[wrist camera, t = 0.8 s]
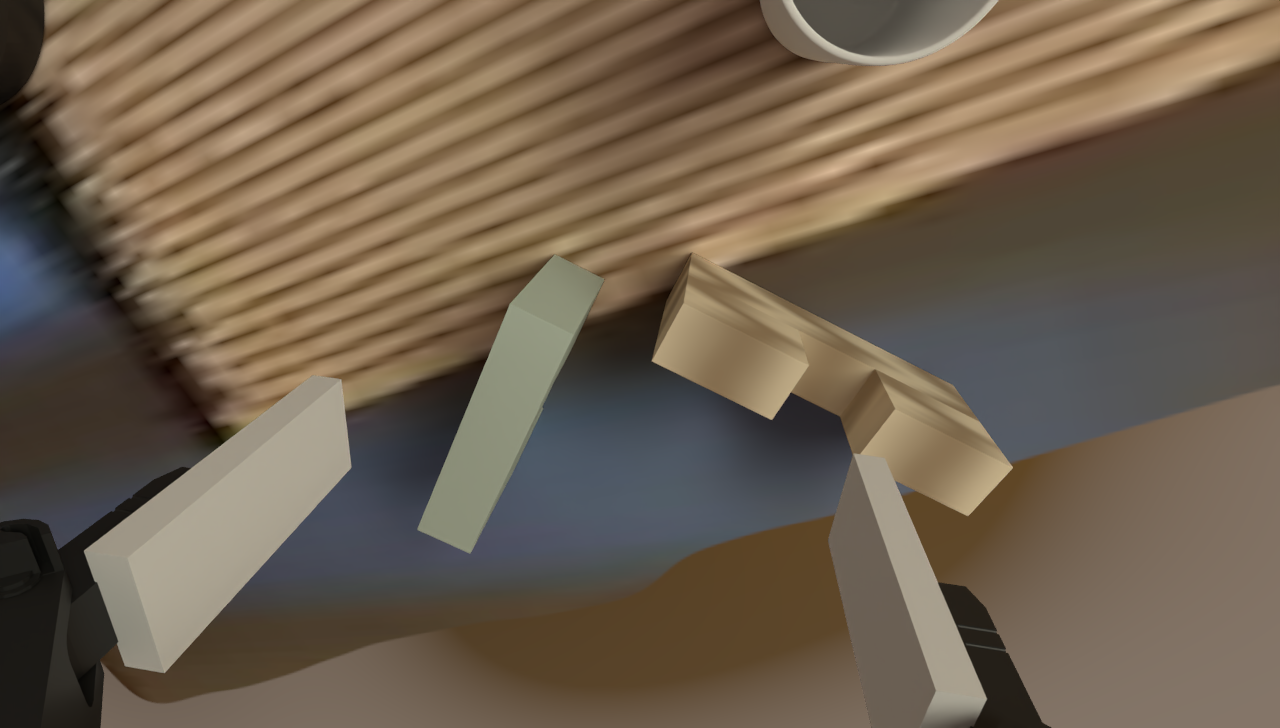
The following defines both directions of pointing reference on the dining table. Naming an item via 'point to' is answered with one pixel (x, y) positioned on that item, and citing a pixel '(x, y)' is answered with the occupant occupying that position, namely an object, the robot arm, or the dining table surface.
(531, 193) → the dining table surface
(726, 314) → the u-shaped wooden block
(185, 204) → the dining table surface
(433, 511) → the grey-green block
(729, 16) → the dining table surface
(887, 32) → the mug
